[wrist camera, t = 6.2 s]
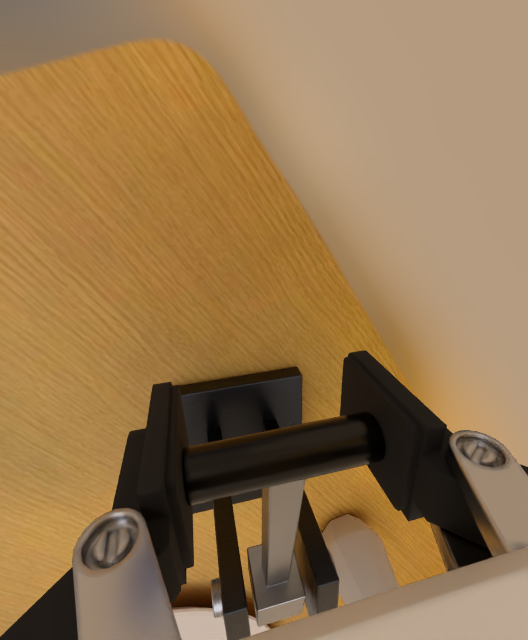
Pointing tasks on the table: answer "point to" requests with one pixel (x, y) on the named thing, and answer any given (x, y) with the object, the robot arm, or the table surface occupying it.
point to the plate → (206, 624)
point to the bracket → (242, 419)
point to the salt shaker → (358, 559)
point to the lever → (279, 491)
